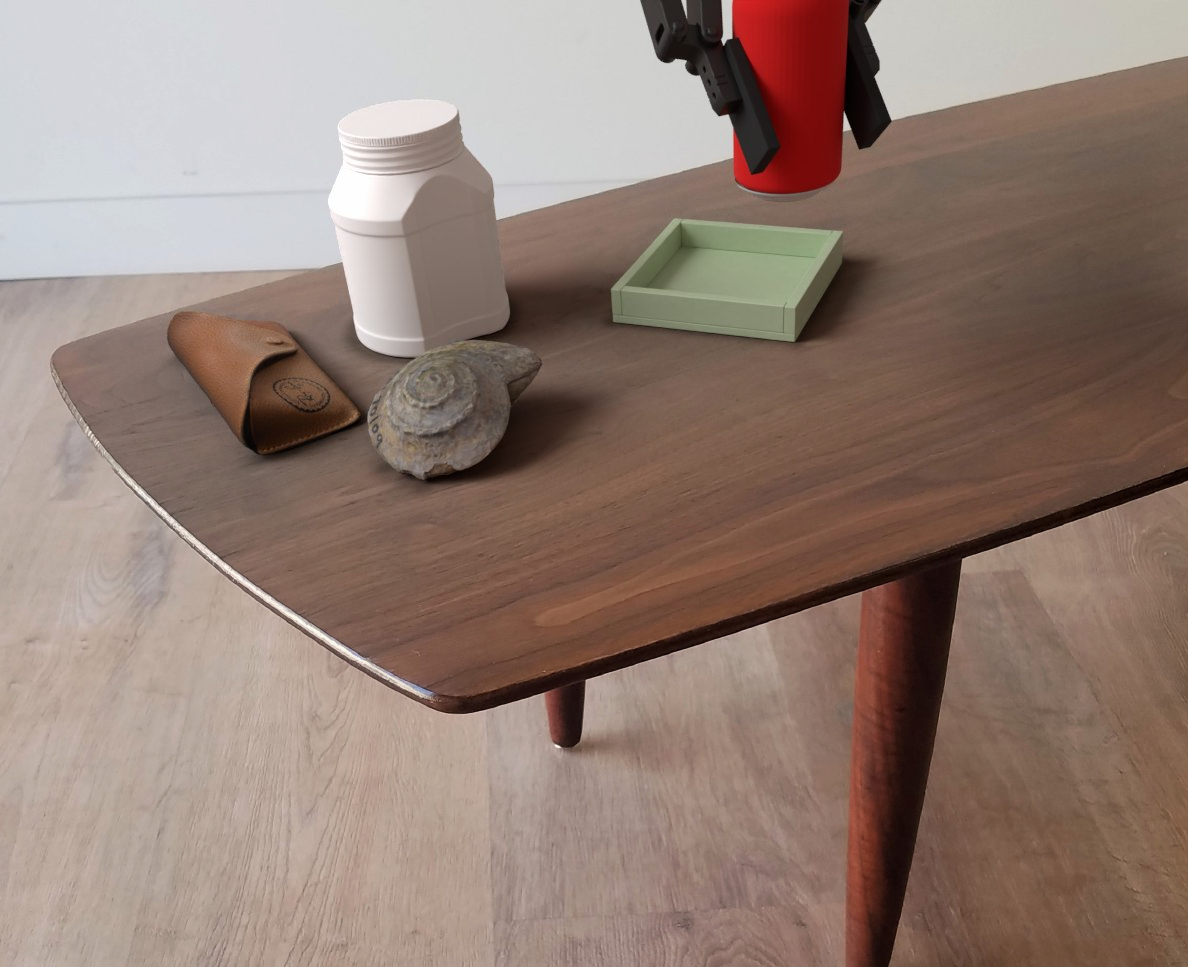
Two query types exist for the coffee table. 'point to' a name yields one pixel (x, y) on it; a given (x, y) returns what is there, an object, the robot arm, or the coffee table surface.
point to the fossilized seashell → (449, 406)
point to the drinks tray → (729, 279)
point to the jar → (416, 229)
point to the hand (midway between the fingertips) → (821, 147)
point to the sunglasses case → (259, 381)
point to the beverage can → (795, 92)
